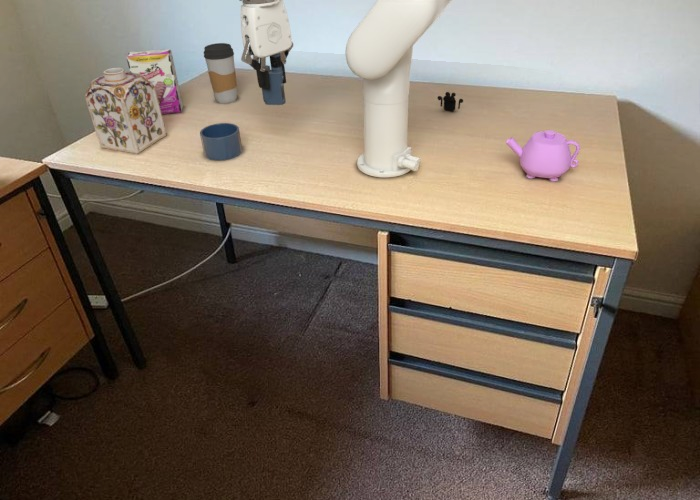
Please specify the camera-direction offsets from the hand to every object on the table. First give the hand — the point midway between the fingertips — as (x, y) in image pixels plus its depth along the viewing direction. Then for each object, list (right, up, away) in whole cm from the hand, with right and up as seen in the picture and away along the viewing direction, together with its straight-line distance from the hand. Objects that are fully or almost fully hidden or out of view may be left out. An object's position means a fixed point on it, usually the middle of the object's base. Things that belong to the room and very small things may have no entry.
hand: (272, 84), depth 120 cm
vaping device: (0, -4, +3) cm, 4 cm away
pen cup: (-13, -13, +10) cm, 21 cm away
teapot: (+57, -20, -4) cm, 61 cm away
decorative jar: (-37, -10, +16) cm, 42 cm away
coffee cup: (-19, +7, +39) cm, 44 cm away
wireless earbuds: (+44, 0, +25) cm, 50 cm away
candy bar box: (-35, +2, +33) cm, 48 cm away
